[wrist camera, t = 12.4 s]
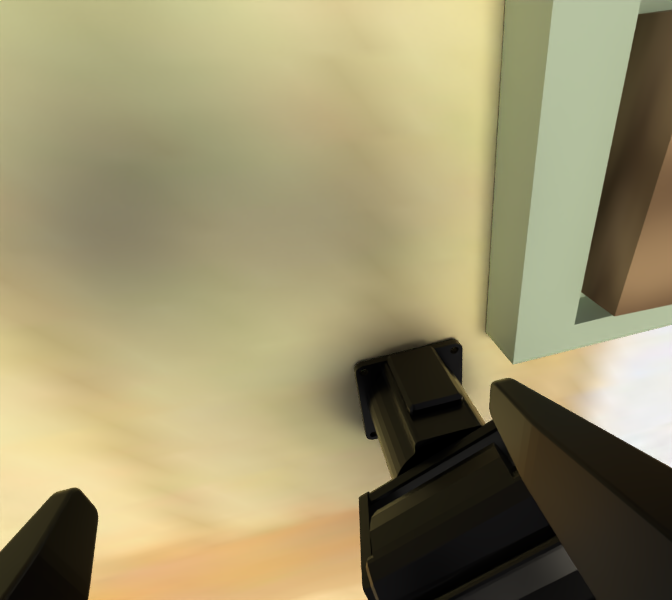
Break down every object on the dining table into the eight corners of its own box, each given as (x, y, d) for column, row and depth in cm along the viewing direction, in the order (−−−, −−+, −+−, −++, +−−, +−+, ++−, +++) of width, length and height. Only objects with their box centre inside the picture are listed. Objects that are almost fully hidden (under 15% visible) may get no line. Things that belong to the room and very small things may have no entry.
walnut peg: (624, 269, 23) (680, 302, 20) (566, 281, 22) (614, 316, 19) (706, 4, 16) (807, -6, 13) (625, 15, 16) (711, 7, 13)
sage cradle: (668, 287, 25) (714, 314, 23) (485, 332, 24) (512, 364, 22) (803, -108, 16) (909, -139, 13) (508, -57, 15) (561, -80, 12)
